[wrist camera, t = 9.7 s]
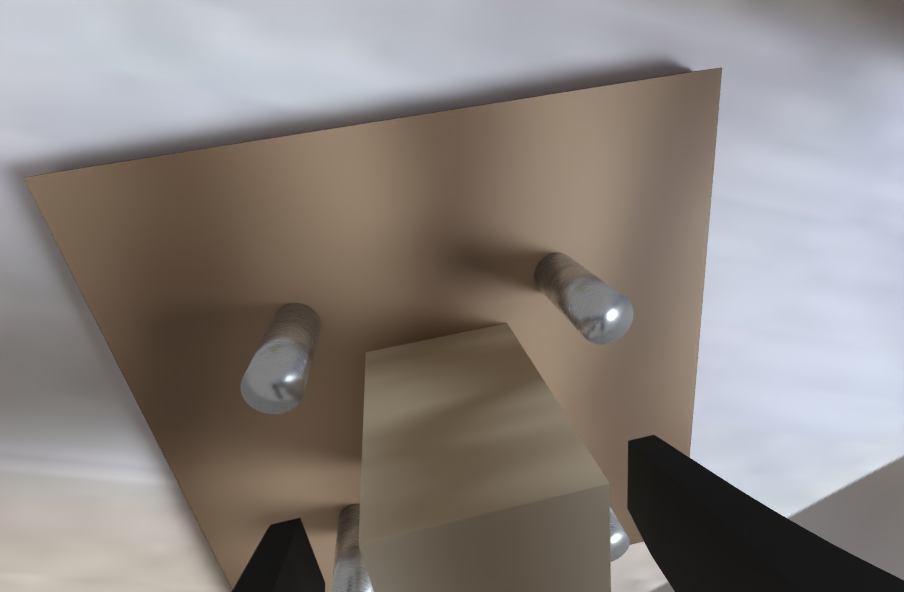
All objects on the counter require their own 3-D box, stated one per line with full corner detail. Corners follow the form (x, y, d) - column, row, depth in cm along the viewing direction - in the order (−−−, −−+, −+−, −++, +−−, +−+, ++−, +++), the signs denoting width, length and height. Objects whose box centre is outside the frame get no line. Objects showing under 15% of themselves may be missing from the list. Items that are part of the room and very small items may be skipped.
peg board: (695, 71, 12) (838, 51, 8) (667, 510, 18) (742, 610, 14) (53, 172, 10) (-121, 203, 7) (264, 611, 17) (233, 751, 13)
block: (507, 323, 13) (609, 483, 7) (519, 435, 14) (610, 637, 9) (365, 352, 12) (358, 544, 7) (394, 464, 14) (407, 693, 8)
